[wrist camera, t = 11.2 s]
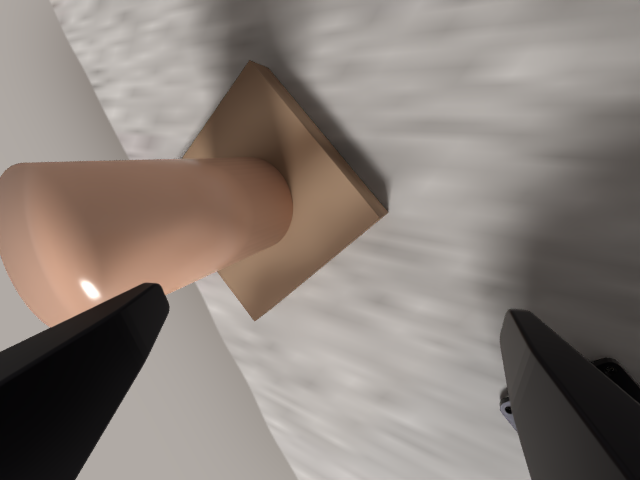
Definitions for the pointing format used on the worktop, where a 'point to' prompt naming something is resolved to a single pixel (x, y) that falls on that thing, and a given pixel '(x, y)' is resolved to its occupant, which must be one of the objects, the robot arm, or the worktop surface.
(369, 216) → the walnut stand
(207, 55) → the worktop surface
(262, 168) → the pink rounded glossy part
